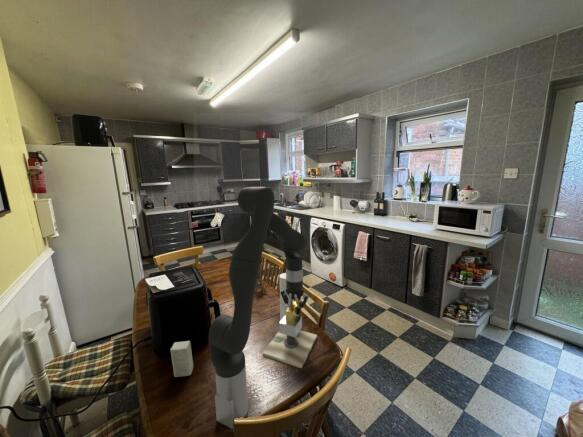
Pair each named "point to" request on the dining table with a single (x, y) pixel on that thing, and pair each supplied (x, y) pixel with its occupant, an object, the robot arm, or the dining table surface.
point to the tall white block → (282, 305)
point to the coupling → (291, 321)
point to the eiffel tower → (259, 285)
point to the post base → (291, 348)
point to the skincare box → (182, 358)
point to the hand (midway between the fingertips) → (294, 313)
